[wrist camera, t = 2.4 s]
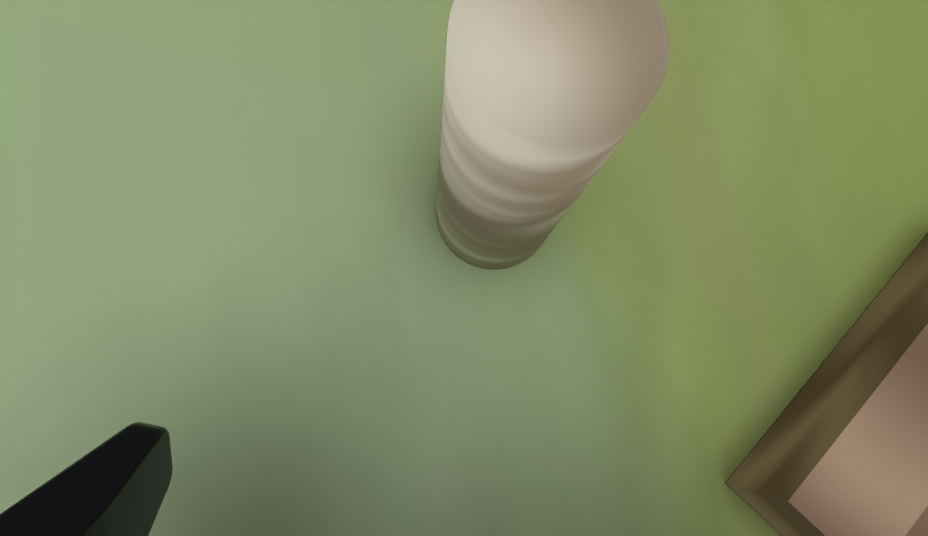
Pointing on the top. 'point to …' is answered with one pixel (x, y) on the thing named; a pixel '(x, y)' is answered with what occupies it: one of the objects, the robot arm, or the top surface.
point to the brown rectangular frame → (855, 428)
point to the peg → (536, 113)
